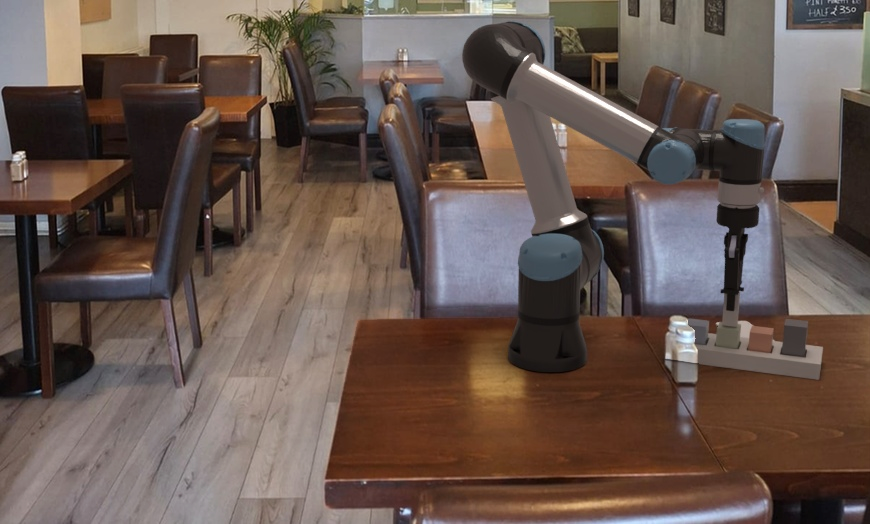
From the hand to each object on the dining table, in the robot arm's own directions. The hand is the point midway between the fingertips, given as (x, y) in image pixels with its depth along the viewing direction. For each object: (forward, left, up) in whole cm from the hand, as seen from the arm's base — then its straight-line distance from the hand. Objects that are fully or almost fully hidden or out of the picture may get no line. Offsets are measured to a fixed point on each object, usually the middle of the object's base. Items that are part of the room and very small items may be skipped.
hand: (729, 325), depth 198 cm
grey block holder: (+3, 0, -7) cm, 7 cm away
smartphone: (+2, +16, -7) cm, 18 cm away
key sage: (0, 0, -6) cm, 6 cm away
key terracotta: (+6, 0, -6) cm, 9 cm away
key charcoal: (+12, 0, -4) cm, 13 cm away
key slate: (-6, 0, -6) cm, 9 cm away
